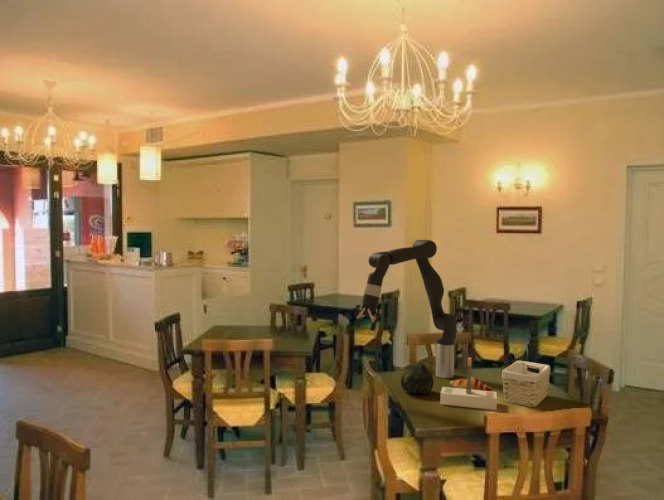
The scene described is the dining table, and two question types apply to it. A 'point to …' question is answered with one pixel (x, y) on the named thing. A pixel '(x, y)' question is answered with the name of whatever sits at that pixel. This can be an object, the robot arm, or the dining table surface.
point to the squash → (417, 379)
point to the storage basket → (525, 383)
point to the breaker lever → (469, 374)
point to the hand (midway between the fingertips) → (364, 329)
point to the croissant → (474, 384)
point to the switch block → (468, 398)
